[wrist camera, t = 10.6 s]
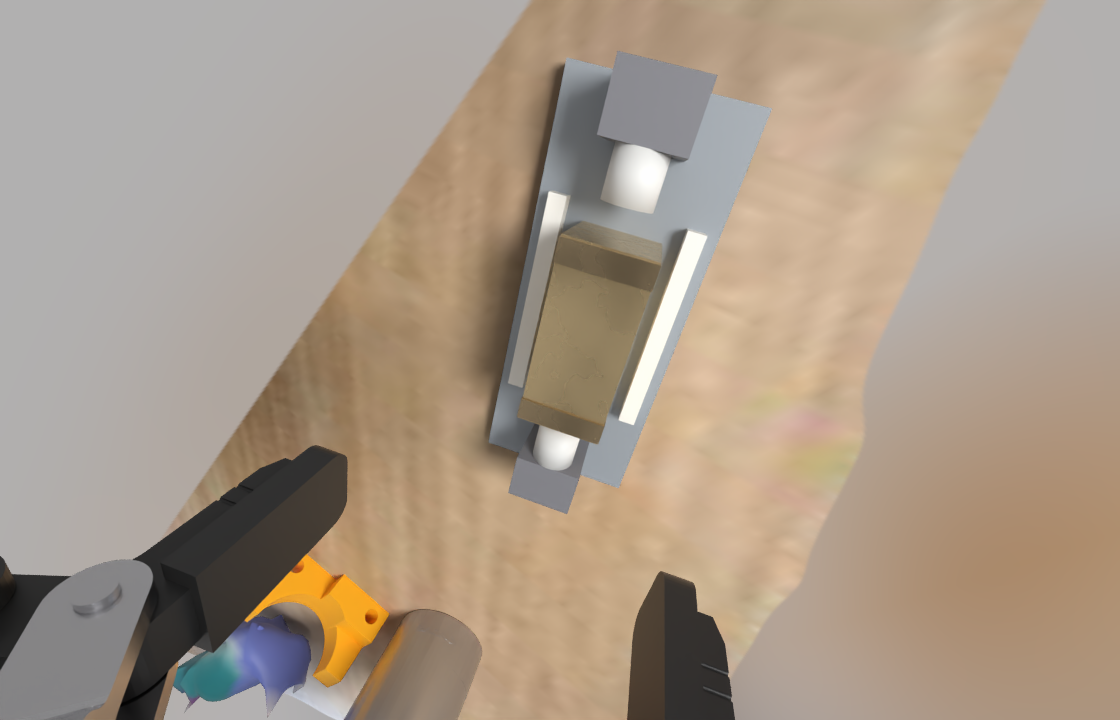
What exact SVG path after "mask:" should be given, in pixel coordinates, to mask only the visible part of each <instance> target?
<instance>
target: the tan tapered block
mask: <svg viewBox="0 0 1120 720" xmlns="http://www.w3.org/2000/svg"><path fill="white" fill-rule="evenodd" d="M553 263H554V267H553V271H552V275H551V279H550V284H549V288H548V292H547V296H546V301H545V305H544V309H543V313H542V317H541V322H540V326H539V330H538V334H537V339H536V343H535V347H534V351H533V356H532V360H531V364H530V368H529V373H528V377H527V381H526V385H525V389H524V394H523V396H522V398H521V401H520V405H519V409H518V414H517V417H518V418H521V419H524V420H527V421H529V422H532V423H535V424H538V425H541V426H544V427H547V428H550V429H553V430H556V431H559V432H561V433H564V434H567V435H570V436H573V437H576V438H579V439H582V440H585V441H588V442H591V443H593V444H596V445H597V444H599V441H600V438H601V435H602V433H603V430H604V427H605V423H606V419H607V415H608V412H609V409H610V407H611V404H612V401H613V398H614V395H615V392H616V390H617V387H618V384H619V381H620V378H621V375H622V373H623V370H624V367H625V364H626V361H627V358H628V356H629V353H630V350H631V347H632V344H633V341H634V338H635V336H636V333H637V330H638V327H639V324H640V321H641V319H642V316H643V313H644V310H645V307H646V304H647V302H648V299H649V296H650V293H651V292H652V291H653V288H654V286H655V283H656V280H657V277H658V274H659V271H660V269H661V265H662V243H659V242H655V241H652V240H648V239H645V238H641V237H638V236H634V235H631V234H627V233H624V232H621V231H617V230H614V229H610V228H607V227H603V226H600V225H596V224H593V223H589V222H586V221H582V222H580V223H579V224H577V225H575V226H573V227H572V228H570V229H568V230H567V231H565V232H563V233H562V234H561V235H560V236H559V239H558V243H557V247H556V252H555V256H554V260H553Z"/></svg>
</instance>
